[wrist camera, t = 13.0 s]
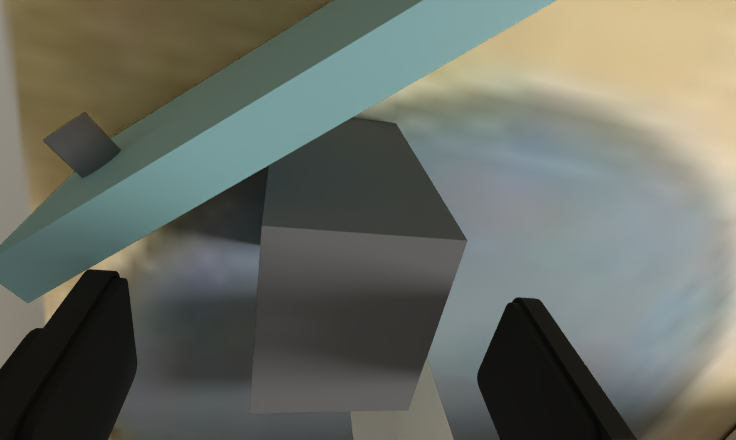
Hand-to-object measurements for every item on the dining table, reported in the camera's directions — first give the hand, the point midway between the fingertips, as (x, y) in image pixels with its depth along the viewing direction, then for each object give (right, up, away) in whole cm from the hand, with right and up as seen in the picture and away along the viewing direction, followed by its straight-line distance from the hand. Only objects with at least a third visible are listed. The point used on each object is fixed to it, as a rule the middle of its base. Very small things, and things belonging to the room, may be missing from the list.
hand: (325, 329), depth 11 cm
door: (-2, +8, +3) cm, 9 cm away
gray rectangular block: (-1, +4, +7) cm, 8 cm away
